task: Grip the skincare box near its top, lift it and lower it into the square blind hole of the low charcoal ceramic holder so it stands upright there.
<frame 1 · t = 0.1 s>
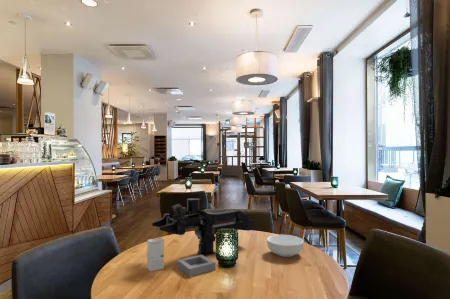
hand: (155, 226, 126), 17 cm above the table, tool horizontal, fingers open, 9 cm apart
ceramic holder: (196, 268, 121), on the table
skincare box: (155, 269, 121), on the table
cereal bowl: (285, 254, 137), on the table
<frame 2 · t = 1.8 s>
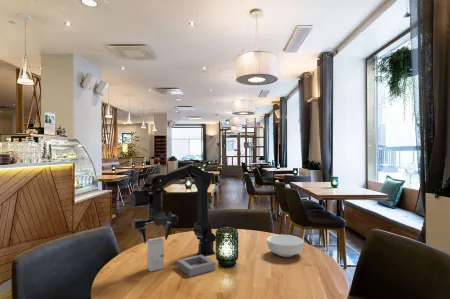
hand: (155, 241, 122), 11 cm above the table, tool pointing down, fingers open, 9 cm apart
nothing on the table moved.
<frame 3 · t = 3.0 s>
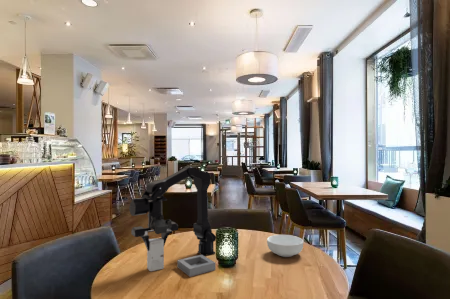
hand: (155, 249, 121), 8 cm above the table, tool pointing down, fingers closed on skincare box, 6 cm apart
skincare box: (155, 268, 121), on the table, touching gripper
everything else where it was.
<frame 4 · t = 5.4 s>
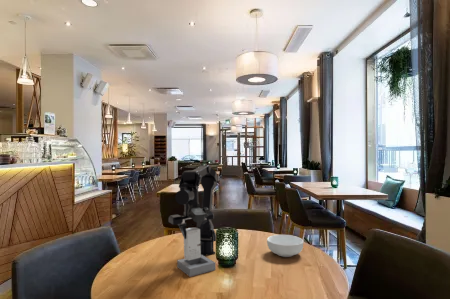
hand: (191, 237, 121), 13 cm above the table, tool pointing down, fingers closed on skincare box, 6 cm apart
skincare box: (192, 257, 121), point 4 cm above the table, touching gripper
everything else where it was.
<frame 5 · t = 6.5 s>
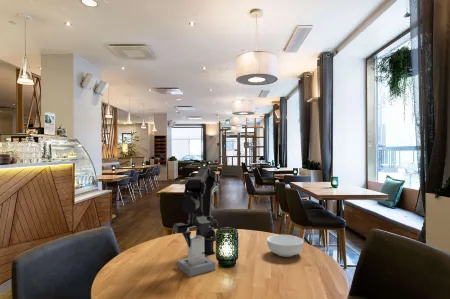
hand: (196, 245, 121), 9 cm above the table, tool pointing down, fingers closed on skincare box, 6 cm apart
skincare box: (196, 266, 121), point 1 cm above the table, touching gripper
everything else where it was.
when the fingers open (9 cm above the table, at t = 7.6 s): skincare box stays where it is, resting on ceramic holder.
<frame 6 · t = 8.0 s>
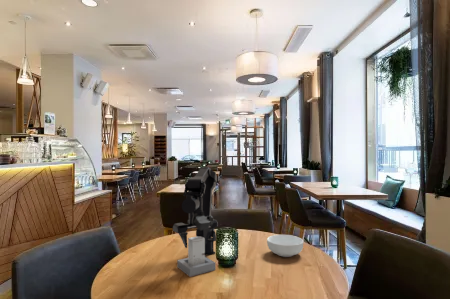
hand: (196, 245, 121), 9 cm above the table, tool pointing down, fingers open, 9 cm apart
skincare box: (196, 267, 121), resting on ceramic holder
everything else where it was.
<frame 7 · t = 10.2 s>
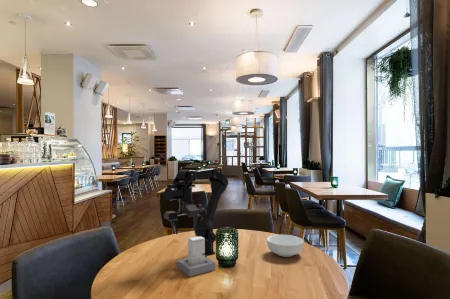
hand: (186, 232, 129), 13 cm above the table, tool pointing down, fingers open, 9 cm apart
nothing on the table moved.
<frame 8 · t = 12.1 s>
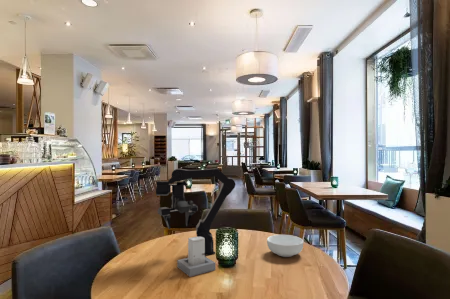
hand: (178, 227, 138), 13 cm above the table, tool pointing down, fingers open, 9 cm apart
nothing on the table moved.
at the end: skincare box 0.6 cm off-centre on the ceramic holder, point 0.3 cm above the ceramic holder's base; skincare box tilted 0°; the gripper is holding nothing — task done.
